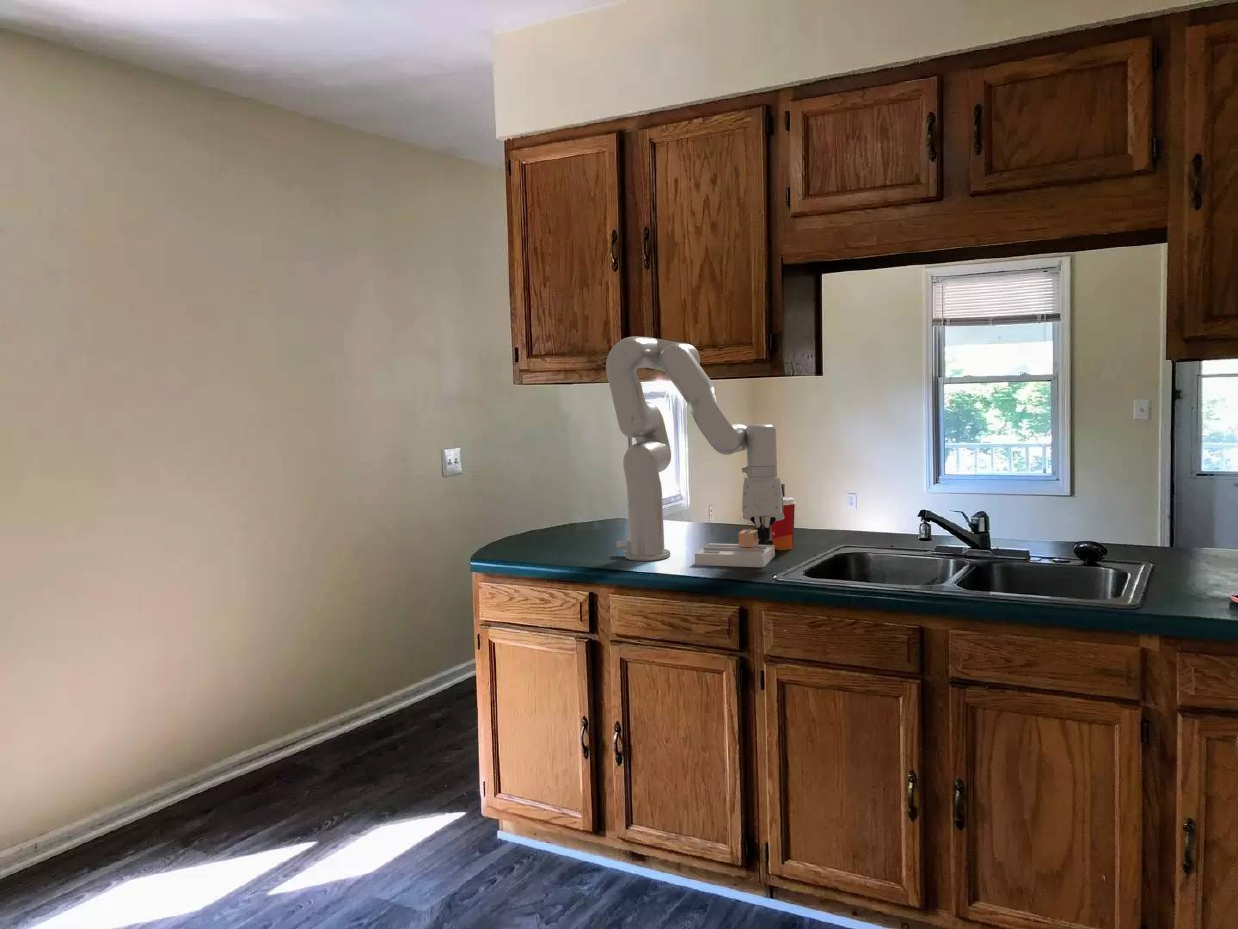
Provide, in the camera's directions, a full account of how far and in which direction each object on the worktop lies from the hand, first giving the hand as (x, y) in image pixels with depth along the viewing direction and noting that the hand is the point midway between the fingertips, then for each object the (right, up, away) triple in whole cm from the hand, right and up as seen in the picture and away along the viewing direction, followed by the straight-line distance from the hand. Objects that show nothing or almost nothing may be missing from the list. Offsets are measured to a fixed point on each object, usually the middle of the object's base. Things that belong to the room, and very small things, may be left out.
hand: (764, 541), depth 241 cm
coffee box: (+7, -2, +31) cm, 32 cm away
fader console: (-7, -5, +3) cm, 9 cm away
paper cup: (+8, -3, +17) cm, 19 cm away
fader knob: (-4, -2, +2) cm, 5 cm away
